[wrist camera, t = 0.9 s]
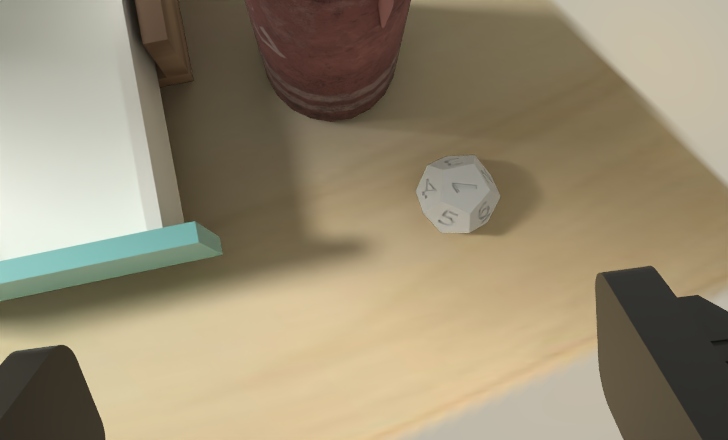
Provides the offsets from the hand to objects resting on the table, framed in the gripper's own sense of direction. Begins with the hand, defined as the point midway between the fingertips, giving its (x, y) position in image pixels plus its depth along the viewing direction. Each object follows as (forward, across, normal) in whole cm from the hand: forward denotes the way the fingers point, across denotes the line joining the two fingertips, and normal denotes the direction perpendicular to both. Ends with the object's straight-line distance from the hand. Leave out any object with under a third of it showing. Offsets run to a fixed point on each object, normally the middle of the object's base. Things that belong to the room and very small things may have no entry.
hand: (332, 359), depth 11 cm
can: (+25, +2, 0) cm, 25 cm away
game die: (+22, -3, +7) cm, 23 cm away
